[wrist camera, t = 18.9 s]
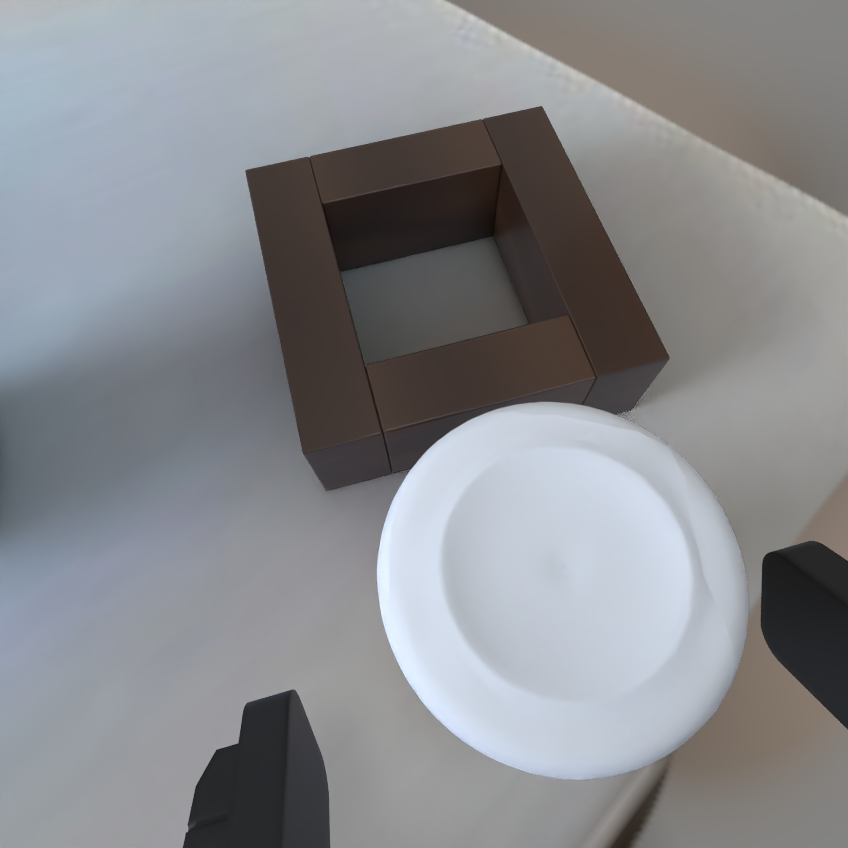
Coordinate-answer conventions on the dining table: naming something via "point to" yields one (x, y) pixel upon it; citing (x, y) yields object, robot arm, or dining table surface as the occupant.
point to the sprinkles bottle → (562, 590)
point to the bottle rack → (430, 229)
